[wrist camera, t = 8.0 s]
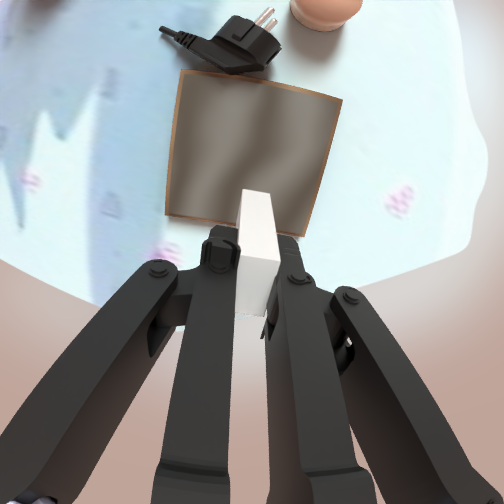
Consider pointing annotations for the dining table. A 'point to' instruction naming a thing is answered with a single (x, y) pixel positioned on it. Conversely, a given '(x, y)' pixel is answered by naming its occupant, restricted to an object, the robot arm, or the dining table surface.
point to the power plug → (235, 44)
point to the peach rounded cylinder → (324, 12)
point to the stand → (247, 147)
